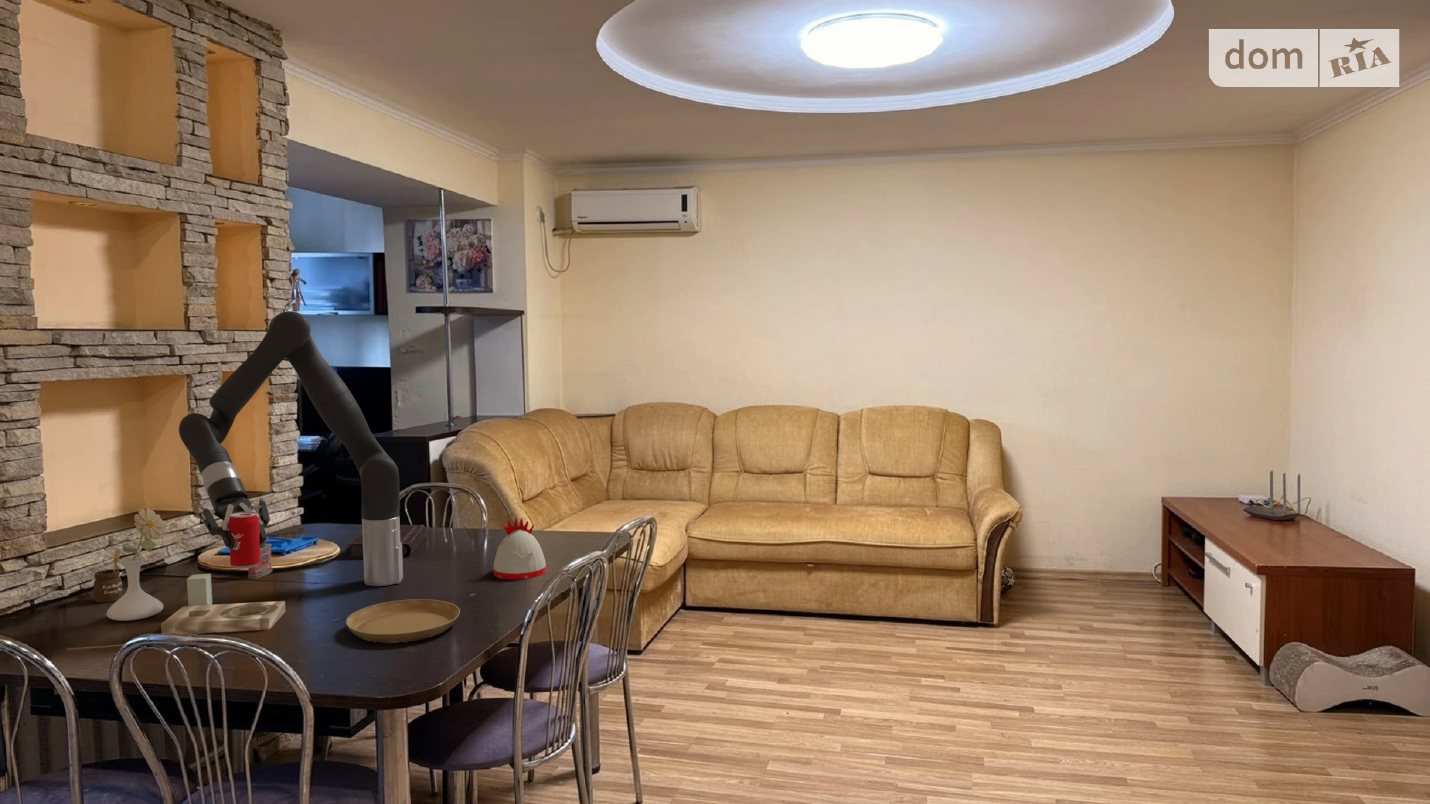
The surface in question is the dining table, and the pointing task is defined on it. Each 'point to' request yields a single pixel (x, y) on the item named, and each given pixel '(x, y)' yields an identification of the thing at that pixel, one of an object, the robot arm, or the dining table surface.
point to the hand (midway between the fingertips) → (248, 544)
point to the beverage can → (245, 540)
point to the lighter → (262, 562)
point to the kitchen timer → (519, 554)
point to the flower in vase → (135, 599)
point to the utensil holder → (108, 583)
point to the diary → (408, 538)
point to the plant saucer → (403, 620)
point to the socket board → (224, 618)
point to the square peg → (199, 590)
